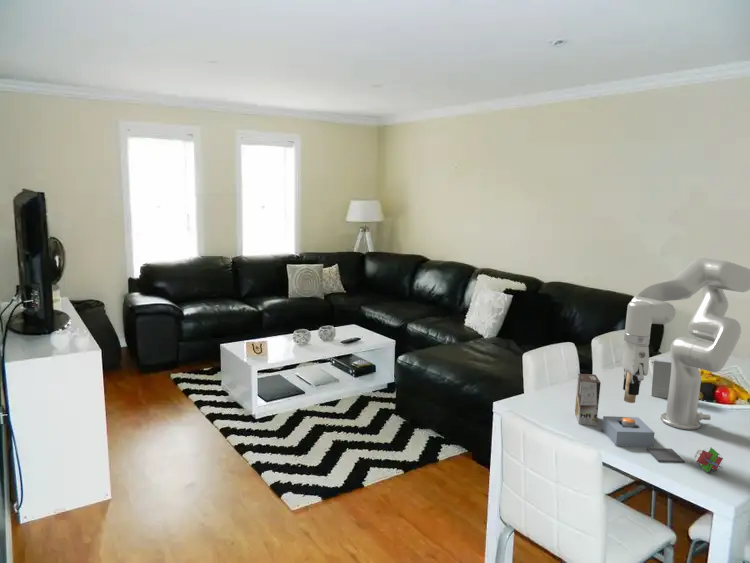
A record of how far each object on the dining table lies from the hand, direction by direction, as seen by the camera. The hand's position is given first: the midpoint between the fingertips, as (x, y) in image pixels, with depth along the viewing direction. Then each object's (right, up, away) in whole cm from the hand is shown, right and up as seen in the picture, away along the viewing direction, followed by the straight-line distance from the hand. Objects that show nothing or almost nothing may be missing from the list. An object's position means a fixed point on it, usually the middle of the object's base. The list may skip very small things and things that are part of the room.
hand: (630, 391), depth 181 cm
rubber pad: (+7, -18, -9) cm, 22 cm away
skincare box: (+32, -10, +42) cm, 54 cm away
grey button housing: (0, -16, +3) cm, 17 cm away
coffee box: (-8, -14, +17) cm, 24 cm away
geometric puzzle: (+15, -20, -17) cm, 31 cm away
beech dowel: (0, -3, +1) cm, 3 cm away
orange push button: (0, -14, +3) cm, 14 cm away
